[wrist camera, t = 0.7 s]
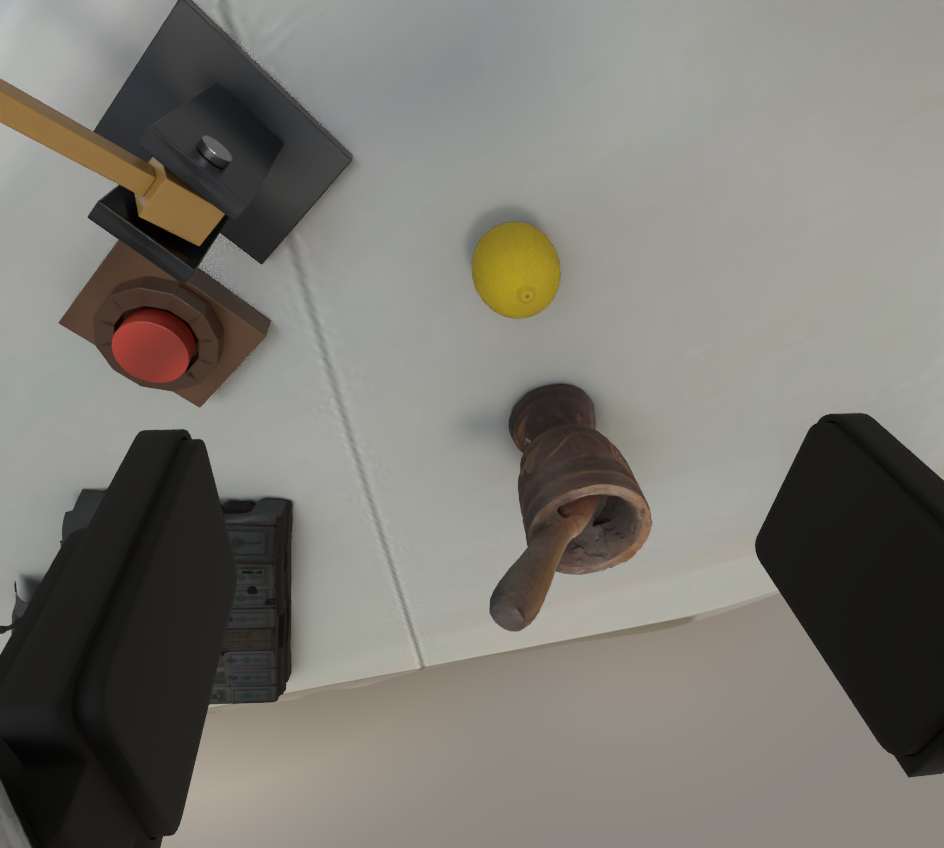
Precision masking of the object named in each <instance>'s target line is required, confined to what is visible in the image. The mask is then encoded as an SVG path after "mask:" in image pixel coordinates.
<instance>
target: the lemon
mask: <svg viewBox="0 0 944 848" xmlns="http://www.w3.org/2000/svg"><path fill="white" fill-rule="evenodd" d="M472 278H473V281H474V285H475V288H476V291H477V292H478V294H479V295H480V297H481V298H482V300H483V301H484V303H486V304H487V305H488V306H489V307H490V308H491V309H492V310H493V311H495V312H497V313H499V314H500V315H502V316H505V317H509V318H526V317H530V316H533V315H535V314H537V313H539V312H541V311H542V310H543V309H544V308H546V307H547V306H548V305H549V304H550V302H551V301H552V300H553V298H554V296H555V294H556V292H557V290H558V286H559V281H560V262H559V258H558V255H557V253H556V250H555V247H554V246H553V244H552V243H551V242H550V240H549V239H548V237H547V236H546V235H545V234H543V233H542V232H541V231H540V230H538V229H537V228H535V227H533V226H531V225H528V224H526V223H519V222H510V223H504V224H501V225H499V226H496V227H494V228H493V229H491V230H490V231H489V232H487V233H486V234H485V235H484V236H483V238H482V239H481V240H480V241H479V243H478V245H477V247H476V249H475V251H474V255H473V259H472Z"/></svg>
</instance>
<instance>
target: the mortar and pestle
mask: <svg viewBox="0 0 944 848" xmlns="http://www.w3.org/2000/svg"><path fill="white" fill-rule="evenodd" d="M595 420H596V418H595V412H594V406H593V403H592V402H591V400H590V398H589V397H588V396H587V395H586V394H585V393H584V392H583V391H582V390H580V389H579V388H577V387H574V386H570V385H564V384H559V385H551V386H546V387H542V388H539V389H536V390H534V391H532V392H530V393H528V394H527V395H526V396H524V398H523V399H522V400H520V401H519V402H518V403H517V405H516V406H515V407H514V409H513V411H512V413H511V416H510V419H509V431H510V434H511V437H512V438H513V441H514V443H515V444H516V446H517V447H518V448H519V449H520V451H521V452H523V453H524V454H523V456H522V458H521V463H520V475H519V479H518V493H519V502H520V507H521V513H522V516H523V524H524V529H525V533H526V541H527V546H528V548H527V549H526V550H525V551H524V553H523V554H522V555H521V556H520V558H519V559H518V560H517V561H516V562H515V563H514V564H513V565H512V566H511V567H510V568H509V570H508V571H507V573H506V574H505V575H504V577H503V578H502V579H501V580H500V581H499V583H498V585H497V586H496V588H495V590H494V591H493V594H492V596H491V598H490V614H491V616H492V618H493V620H494V621H495V622H496V623H497V624H498V625H499V626H501V627H502V628H504V629H506V630H508V631H520V630H522V629H524V628H525V627H526V626H528V625H529V624H531V622H532V621H533V620H534V619H535V617H536V616H537V614H538V613H539V611H540V608H541V606H542V604H543V602H544V600H545V597H546V595H547V592H548V590H549V588H550V585H551V583H552V580H553V577H554V574H555V571H557V572H561V573H564V574H580V575H581V574H587V573H593V572H598V571H602V570H605V569H607V568H612V567H613V566H616V565H618V564H620V563H623V562H627V561H628V560H629V559H631V558H632V557H633V556H634V555H635V554H636V553H637V551H638V550H639V549H641V547H642V546H643V544H644V543H645V541H646V540H647V538H648V536H649V533H650V530H651V526H652V520H651V514H650V508H649V505H648V503H647V501H646V499H645V497H644V495H643V493H642V491H641V489H640V487H639V485H638V483H637V481H636V479H635V477H634V475H633V473H632V471H631V469H630V467H629V465H628V463H627V461H626V460H625V458H624V457H623V456H622V454H621V453H620V451H619V450H618V449H617V448H616V447H615V446H614V445H613V444H612V443H611V442H610V441H609V440H608V439H607V438H606V437H605V436H603V435H602V434H600V433H599V432H598V431H596V430H595Z"/></svg>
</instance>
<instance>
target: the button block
mask: <svg viewBox="0 0 944 848" xmlns="http://www.w3.org/2000/svg"><path fill="white" fill-rule="evenodd" d="M143 309H157V310H162V311H165V312H168V313H170V314H172V315H174V316H176V317H178V318H179V319H180V320H182V321H183V322H184V323H185V324H186V325H187V326H188V328H189V329H190V331H191V332H192V334H193V337H194V340H195V352H194V355H193V357H192V359H191V361H190V363H189V365H188V367H187V369H186V371H185V372H184V373H183V374H182V375H181V376H180V377H179V378H177V379H175V380H172V381H170V382H164V383H153V382H148V381H144V380H141V379H139V378H136V377H134V376H133V375H131V374H129V373H128V372H127V371H125V370H124V369H123V368H122V367H121V366H120V365H119V363H118V362H117V360H116V359H115V357H114V355H113V351H112V338H113V336H114V334H115V332H116V331H117V329H118V328H119V327H120V325H121V324H122V323H123V321H124V320H125V319H126V318H127V317H128V316H129V315H130V314H132V313H134V312H136V311H139V310H143ZM270 322H271V321H270V320H269V319H268V318H266V317H265V316H263V315H262V314H261V313H259V312H258V311H256V310H255V309H254V308H252V307H251V306H250V305H248V304H247V303H245V302H244V301H243V300H241V299H240V298H239V297H237V296H236V295H234V294H233V293H232V292H230V291H229V290H227V289H226V288H225V287H223V286H222V285H221V284H219V283H218V282H216V281H215V280H214V279H212V278H211V277H210V276H208V275H207V274H205V273H204V272H203V271H201V270H200V269H198V268H197V269H196V271H195V272H194V273H193V275H192V276H191V277H190V278H189V280H188V281H187V282H186V283H185V284H182V283H180V282H179V281H178V280H176V279H175V278H173V277H172V276H170V275H169V274H168V273H166V272H165V271H163V270H162V269H160V268H159V267H158V266H156V265H155V264H153V263H152V262H150V261H149V260H148V259H146V258H145V257H143V256H142V255H140V254H139V253H138V252H136V251H135V250H133V249H132V248H130V247H129V246H128V245H126V244H125V243H123V242H122V241H120V240H118V242H117V243H116V244H115V246H114V247H113V249H112V250H111V251H110V253H109V254H108V255H107V257H106V258H105V260H104V261H103V262H102V264H101V265H100V266H99V268H98V269H97V271H96V272H95V273H94V275H93V276H92V277H91V279H90V280H89V282H88V283H87V284H86V286H85V287H84V288H83V290H82V291H81V292H80V294H79V295H78V297H77V298H76V299H75V301H74V302H73V303H72V305H71V306H70V308H69V309H68V310H67V312H66V313H65V314H64V316H63V317H62V319H61V320H60V321H59V324H61V325H62V326H64V327H66V328H67V329H69V330H71V331H72V332H74V333H76V334H78V335H79V336H81V337H83V338H84V339H86V340H88V341H89V342H91V343H93V344H94V345H96V347H97V348H98V349H99V351H100V352H101V354H102V355H103V356H104V358H105V359H106V360H107V362H108V363H109V365H110V366H111V367H112V369H114V370H115V371H116V372H118V373H120V374H121V375H123V376H125V377H127V378H128V379H130V380H132V381H133V382H135V383H137V384H138V385H140V386H143V387H149V388H156V389H162V390H168V391H173V392H175V393H176V394H178V395H180V396H181V397H183V398H185V399H186V400H188V401H190V402H191V403H193V404H195V405H196V406H198V407H201V406H202V405H203V404H204V403H205V402H206V401H207V400H208V398H209V397H210V396H211V395H212V394H213V393H214V392H215V391H216V390H217V389H218V388H219V387H220V385H221V384H222V383H223V382H224V381H225V380H226V379H227V378H228V377H229V376H230V375H231V374H232V372H233V371H234V370H235V369H236V368H237V367H238V366H239V365H240V364H241V363H242V362H243V361H244V359H245V358H246V357H247V356H248V355H249V354H250V353H251V352H252V351H253V350H254V349H255V348H256V346H257V345H258V344H259V343H260V342H261V341H262V340H263V339H264V338H265V337H266V334H267V331H268V328H269V325H270Z"/></svg>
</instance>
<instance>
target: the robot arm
mask: <svg viewBox="0 0 944 848" xmlns="http://www.w3.org/2000/svg"><path fill="white" fill-rule="evenodd" d="M755 549H756V554H757V557H758V559H759V561H760V562H761V564H762V565H763V567H764V568H765V570H766V572H767V573H768V575H769V576H770V578H771V579H772V581H773V582H774V584H775V585H776V587H777V588H778V590H779V591H780V593H781V594H782V596H783V597H784V599H785V600H786V602H787V604H788V605H789V607H790V608H791V610H792V611H793V613H794V614H795V616H796V617H797V619H798V620H799V622H800V623H801V625H802V626H803V628H804V629H805V631H806V632H807V634H808V636H809V637H810V639H811V640H812V642H813V643H814V645H815V646H816V648H817V649H818V651H819V652H820V654H821V655H822V657H823V658H824V660H825V662H826V663H827V664H828V666H829V668H830V669H831V671H832V672H833V674H834V675H835V677H836V678H837V680H838V681H839V683H840V684H841V686H842V687H843V689H844V690H845V692H846V693H847V695H848V696H849V698H850V700H851V701H852V703H853V704H854V706H855V707H856V709H857V710H858V712H859V713H860V715H861V716H862V718H863V719H864V721H865V722H866V724H867V725H868V727H869V729H870V730H871V732H872V733H873V735H874V736H875V738H876V739H877V741H878V742H879V743H880V745H881V746H882V747H883V748H884V749H885V750H886V751H887V752H889V753H891V754H893V755H894V756H895V757H896V759H897V761H898V762H899V764H900V765H901V767H902V768H903V770H904V771H905V773H906V774H907V776H908V777H916V776H925V775H934V774H942V773H944V480H942V479H941V478H940V477H939V476H938V475H937V474H936V473H934V472H933V471H932V470H931V469H930V468H929V467H928V466H927V465H925V464H924V463H923V462H922V461H921V460H920V459H919V458H918V457H916V456H915V455H914V454H913V453H912V452H911V451H910V450H908V449H907V448H906V447H905V446H904V445H903V444H902V443H901V442H899V441H898V440H897V439H896V438H895V437H894V436H893V435H891V434H890V433H889V432H888V431H887V430H886V429H885V428H884V427H882V426H881V425H880V424H879V423H878V422H877V421H876V420H875V419H873V418H872V417H870V416H869V415H867V414H862V413H849V414H828V415H825V416H823V417H822V418H821V419H820V420H819V421H818V423H817V424H814V425H813V426H812V427H811V428H810V429H809V431H808V433H807V435H806V437H805V439H804V441H803V443H802V445H801V447H800V449H799V451H798V453H797V455H796V457H795V459H794V462H793V464H792V466H791V468H790V470H789V472H788V474H787V476H786V478H785V480H784V482H783V484H782V486H781V488H780V490H779V492H778V494H777V497H776V499H775V501H774V503H773V505H772V507H771V509H770V511H769V513H768V515H767V517H766V519H765V521H764V523H763V525H762V527H761V529H760V532H759V534H758V536H757V538H756V542H755ZM236 587H237V568H236V563H235V559H234V555H233V551H232V547H231V543H230V539H229V535H228V531H227V528H226V524H225V520H224V516H223V512H222V508H221V504H220V500H219V496H218V492H217V488H216V485H215V481H214V477H213V473H212V469H211V465H210V461H209V457H208V453H207V449H206V446H205V443H204V442H203V440H201V439H191V436H190V434H189V433H188V431H187V430H184V429H179V430H143V431H141V432H139V433H138V435H137V436H136V437H135V439H134V441H133V443H132V445H131V447H130V448H129V450H128V452H127V454H126V456H125V458H124V460H123V461H122V463H121V465H120V467H119V469H118V471H117V473H116V474H115V476H114V478H113V480H112V482H111V484H110V486H109V487H108V489H107V491H106V493H105V495H104V497H103V499H102V500H101V502H100V504H99V506H98V508H97V510H96V512H95V513H94V515H93V517H92V519H91V521H90V523H89V525H88V526H87V528H78V529H77V530H75V531H73V532H72V533H71V534H70V535H69V536H68V538H67V539H66V540H65V542H64V543H63V545H62V547H61V549H60V550H59V552H58V554H57V556H56V557H55V559H54V561H53V563H52V564H51V566H50V568H49V570H48V572H47V573H46V575H45V577H44V579H43V580H42V582H41V584H40V586H39V587H38V589H37V591H36V593H35V595H34V596H33V598H32V600H31V602H30V603H29V605H28V607H27V609H26V610H25V612H24V614H23V616H22V618H21V619H20V621H19V623H18V625H17V626H16V628H15V630H14V632H13V633H12V635H11V637H10V639H9V641H8V642H7V644H6V646H5V648H4V649H3V651H2V653H1V655H0V848H160V846H161V842H162V838H163V836H170V835H173V834H175V832H176V831H177V829H178V827H179V825H180V822H181V818H182V815H183V811H184V806H185V802H186V798H187V794H188V789H189V786H190V781H191V777H192V773H193V769H194V764H195V760H196V756H197V752H198V748H199V744H200V739H201V735H202V731H203V727H204V722H205V718H206V714H207V710H208V706H209V702H210V697H211V693H212V689H213V685H214V681H215V676H216V672H217V668H218V664H219V659H220V655H221V651H222V647H223V643H224V638H225V634H226V630H227V626H228V622H229V617H230V613H231V609H232V605H233V601H234V596H235V592H236Z"/></svg>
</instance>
